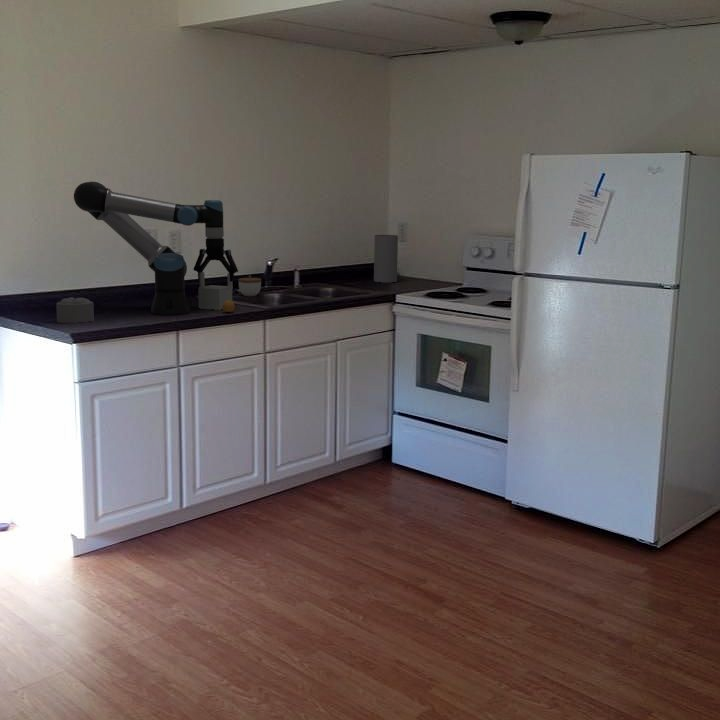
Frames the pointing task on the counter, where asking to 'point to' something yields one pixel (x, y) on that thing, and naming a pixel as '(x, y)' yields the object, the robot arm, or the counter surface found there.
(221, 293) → the wide gray carton
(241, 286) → the lidded jar
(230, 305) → the ball
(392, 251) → the cylinder vase
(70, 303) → the lumpy-topped squat cylinder
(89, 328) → the counter surface
